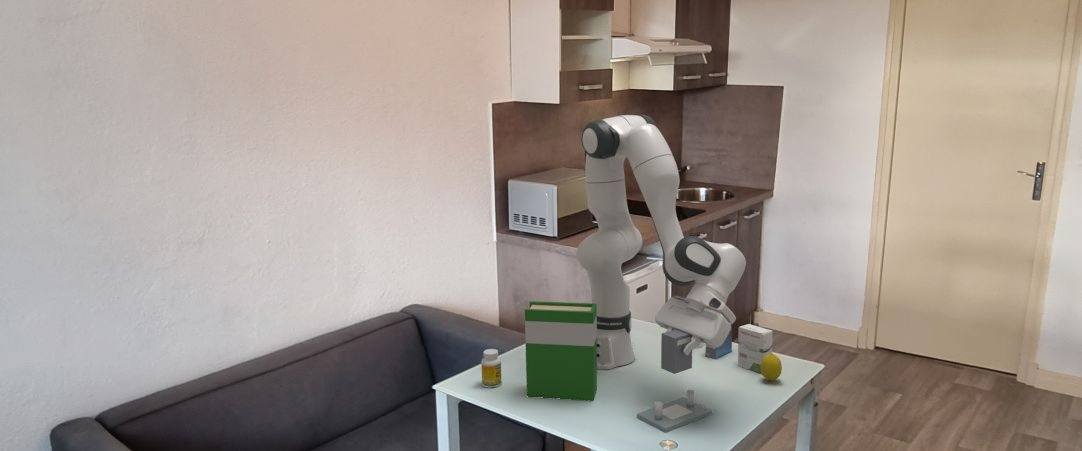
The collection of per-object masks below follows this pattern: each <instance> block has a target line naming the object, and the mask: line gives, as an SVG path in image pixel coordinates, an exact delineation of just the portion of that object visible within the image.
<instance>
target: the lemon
mask: <svg viewBox="0 0 1082 451" xmlns="http://www.w3.org/2000/svg"><path fill="white" fill-rule="evenodd" d="M782 370H783V366H782V361H781V359H780V357H779V356H777V355H776V354H774V353H773V352H772V353H771V354H768V355H766V356H765V357H764V358H763V359H762V362H761V373H760V374H761V375H762V376H763V378H765V379H766V380H768V382H773V381H774V380H776V379H779V377H780V376H781V374H782Z"/></svg>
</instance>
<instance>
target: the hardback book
mask: <svg viewBox="0 0 1082 451" xmlns="http://www.w3.org/2000/svg"><path fill="white" fill-rule="evenodd" d="M524 325H525V326H524V327H525V328H524V330H525V331H524V333H525V335H524V336H525V337H524V338H525V339H524V340H525V370H526V371H525V374H526V375H525V379H526V380H525V382H526V397H527V396H528V397H527V398H532V397H543V398H542V399H549V398H555V399H554V400H557V399H556V398H560V399H559V400H566V399H571V400H572V401H583V400H585V401H587V402H594V401H595V398H596V394H597V391H598V368H597V304H593V303H591V302H585V303H584V302H564V301H563V302H561V301H559V302H558V301H535V300H534V301H533V300H530V301H529V308H524ZM571 400H570V401H571ZM588 400H590V401H588ZM585 401H584V402H585Z"/></svg>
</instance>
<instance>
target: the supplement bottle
mask: <svg viewBox="0 0 1082 451" xmlns="http://www.w3.org/2000/svg"><path fill="white" fill-rule="evenodd" d="M482 356H483V358H482V359H481V362H480V363H481V384H482V386H483V385H484V386H486V387H496V388H498V387H500V386H501V385H502V381H503V380H502V360H501V358H500V357H499V350H498V349H496V348H487V349H485V350H484V351H483V355H482ZM499 385H500V386H499ZM484 386H483V387H484ZM497 386H498V387H497ZM486 387H485V388H486Z"/></svg>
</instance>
